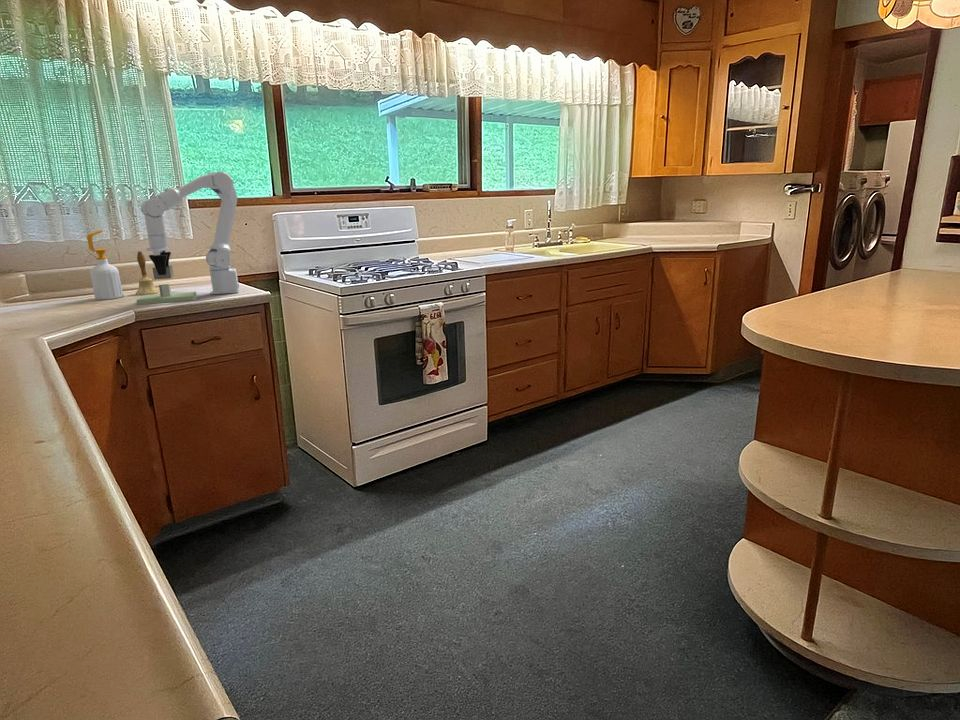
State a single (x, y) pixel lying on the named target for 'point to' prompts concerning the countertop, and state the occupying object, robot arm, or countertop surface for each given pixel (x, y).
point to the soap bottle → (104, 275)
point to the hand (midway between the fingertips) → (163, 273)
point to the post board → (166, 296)
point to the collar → (168, 274)
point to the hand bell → (145, 279)
